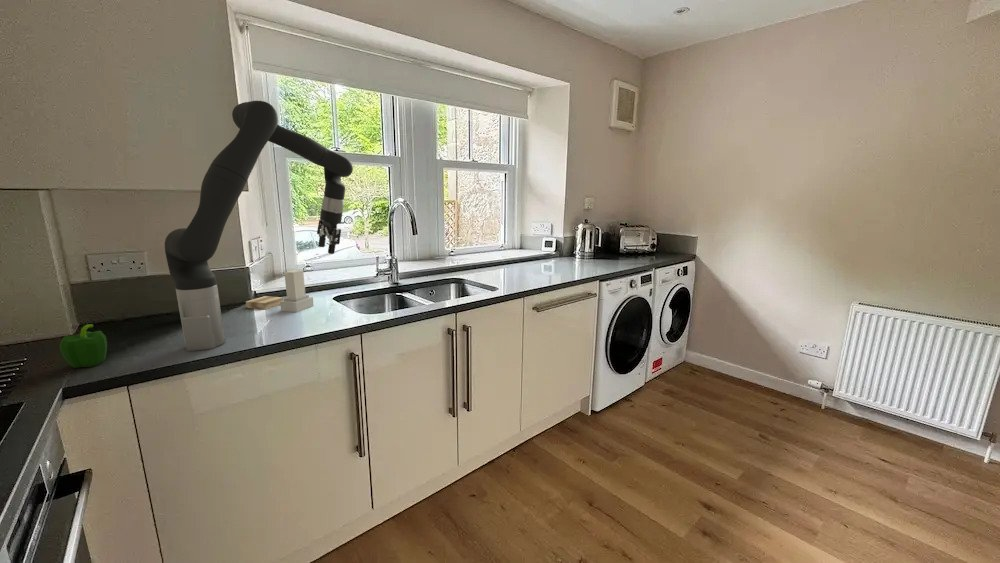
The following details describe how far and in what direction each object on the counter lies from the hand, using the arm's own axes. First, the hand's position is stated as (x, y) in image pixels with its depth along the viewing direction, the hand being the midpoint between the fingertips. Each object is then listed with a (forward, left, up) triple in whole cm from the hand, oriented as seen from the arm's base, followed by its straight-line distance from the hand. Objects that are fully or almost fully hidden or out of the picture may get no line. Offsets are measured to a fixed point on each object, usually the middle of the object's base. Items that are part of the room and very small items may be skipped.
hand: (326, 250), depth 153 cm
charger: (-3, +12, -18) cm, 22 cm away
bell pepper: (-43, +55, -22) cm, 73 cm away
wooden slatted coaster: (+6, +24, -22) cm, 33 cm away
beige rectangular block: (-3, +12, -22) cm, 25 cm away
